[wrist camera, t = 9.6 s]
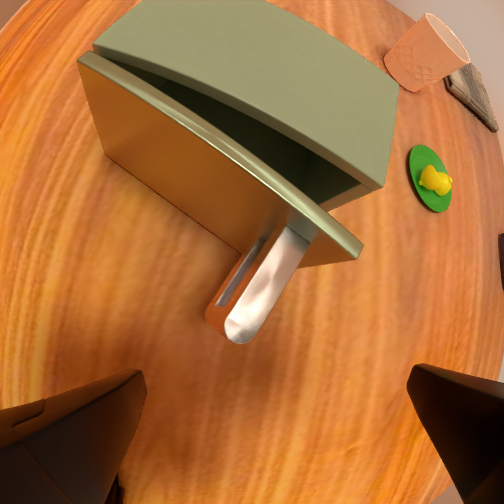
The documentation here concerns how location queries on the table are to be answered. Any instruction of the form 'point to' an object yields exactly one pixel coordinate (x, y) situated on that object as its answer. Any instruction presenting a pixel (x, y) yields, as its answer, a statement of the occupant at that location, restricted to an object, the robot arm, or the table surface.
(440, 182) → the green plate with lemon
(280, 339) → the table surface
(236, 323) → the cupboard door
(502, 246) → the flask
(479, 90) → the dish towel
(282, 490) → the table surface
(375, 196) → the table surface
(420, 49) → the orange cup
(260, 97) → the cupboard
